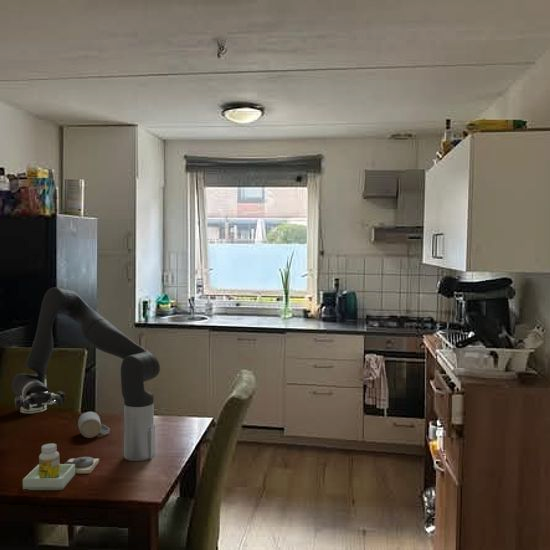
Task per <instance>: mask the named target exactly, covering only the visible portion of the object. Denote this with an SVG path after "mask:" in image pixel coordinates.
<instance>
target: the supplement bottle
mask: <svg viewBox="0 0 550 550" xmlns="http://www.w3.org/2000/svg"><path fill="white" fill-rule="evenodd" d="M57 445H58V444H56V443H45V444H43V445H41V450H40V451H41V453H40V454H39V456H38V464H39V478H59V477H60V464H61V463H60V452H59V451H57V449H58V448H57V447H58V446H57Z"/></svg>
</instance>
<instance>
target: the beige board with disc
mask: <svg viewBox="0 0 550 550" xmlns="http://www.w3.org/2000/svg"><path fill="white" fill-rule="evenodd" d="M99 463H100V458H93V457H92V456H80V457H76V458H69V459H68V460H67V461H66V462H65V463H64V464H75V474H91V473H92V472H93V470H94V469H95V468H96V466H97V465H98V464H99Z"/></svg>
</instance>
